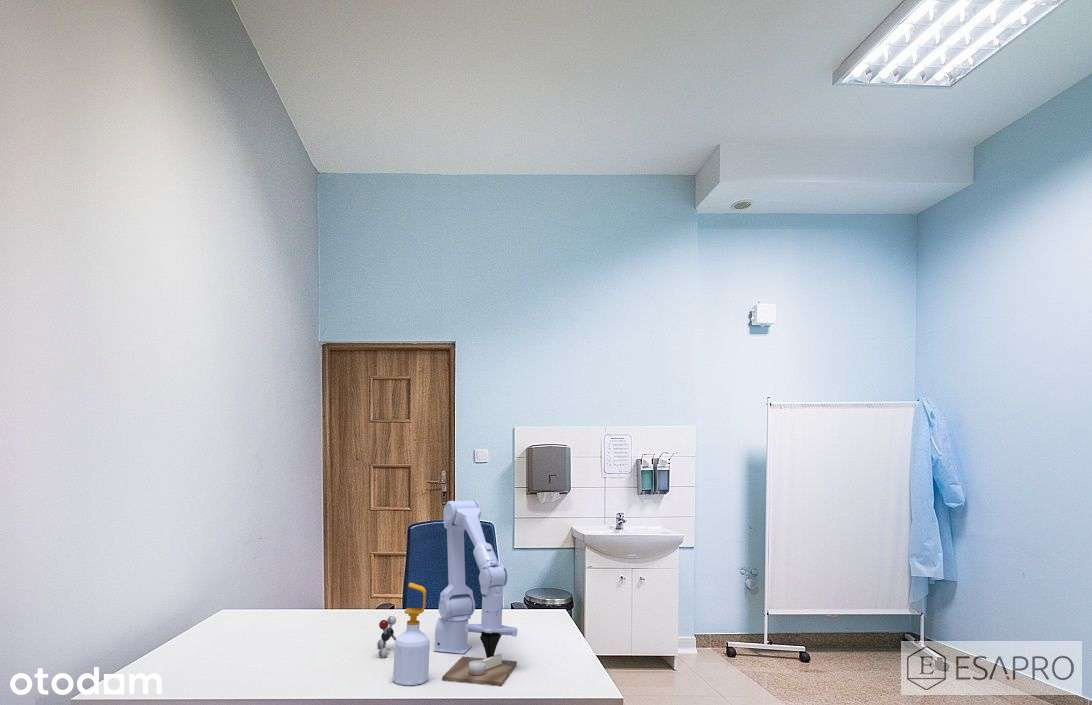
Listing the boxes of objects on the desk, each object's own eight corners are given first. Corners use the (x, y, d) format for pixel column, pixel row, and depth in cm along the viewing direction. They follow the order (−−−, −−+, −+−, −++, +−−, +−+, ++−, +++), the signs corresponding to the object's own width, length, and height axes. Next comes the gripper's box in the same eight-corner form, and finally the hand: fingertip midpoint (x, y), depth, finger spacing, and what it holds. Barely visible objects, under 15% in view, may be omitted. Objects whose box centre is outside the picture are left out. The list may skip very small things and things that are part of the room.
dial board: (442, 680, 191) (442, 675, 191) (462, 659, 209) (462, 655, 209) (501, 686, 188) (501, 681, 188) (516, 664, 206) (516, 660, 206)
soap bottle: (395, 674, 195) (399, 580, 198) (429, 674, 196) (433, 580, 198) (390, 686, 186) (395, 587, 189) (426, 686, 187) (431, 587, 189)
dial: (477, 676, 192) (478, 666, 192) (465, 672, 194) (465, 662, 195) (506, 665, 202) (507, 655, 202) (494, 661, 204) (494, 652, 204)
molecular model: (405, 648, 219) (407, 611, 220) (395, 660, 207) (397, 621, 208) (378, 646, 219) (380, 610, 220) (366, 659, 207) (369, 620, 208)
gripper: (462, 611, 201) (460, 662, 200) (514, 615, 199) (512, 667, 197) (470, 605, 208) (468, 655, 207) (519, 609, 206) (517, 659, 204)
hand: (490, 660), depth 202 cm, fingers closed
